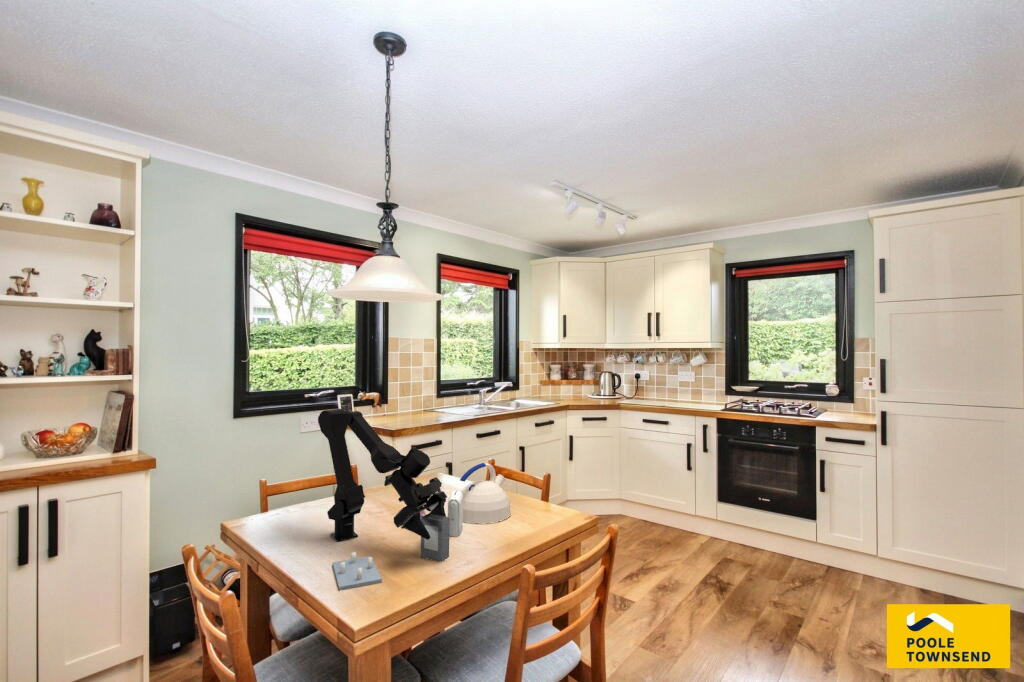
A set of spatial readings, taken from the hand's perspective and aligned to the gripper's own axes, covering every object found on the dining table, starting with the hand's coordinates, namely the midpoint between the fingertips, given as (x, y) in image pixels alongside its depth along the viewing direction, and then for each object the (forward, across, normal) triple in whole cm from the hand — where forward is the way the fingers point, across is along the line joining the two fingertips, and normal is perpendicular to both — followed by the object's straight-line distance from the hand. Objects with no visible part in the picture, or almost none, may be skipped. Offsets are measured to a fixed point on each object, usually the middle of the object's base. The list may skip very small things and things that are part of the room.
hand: (438, 533), depth 134 cm
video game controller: (-8, +18, +18) cm, 26 cm away
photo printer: (0, +20, +10) cm, 22 cm away
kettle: (0, +38, +10) cm, 39 cm away
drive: (+4, 0, +6) cm, 7 cm away
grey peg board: (-5, -17, +14) cm, 23 cm away
